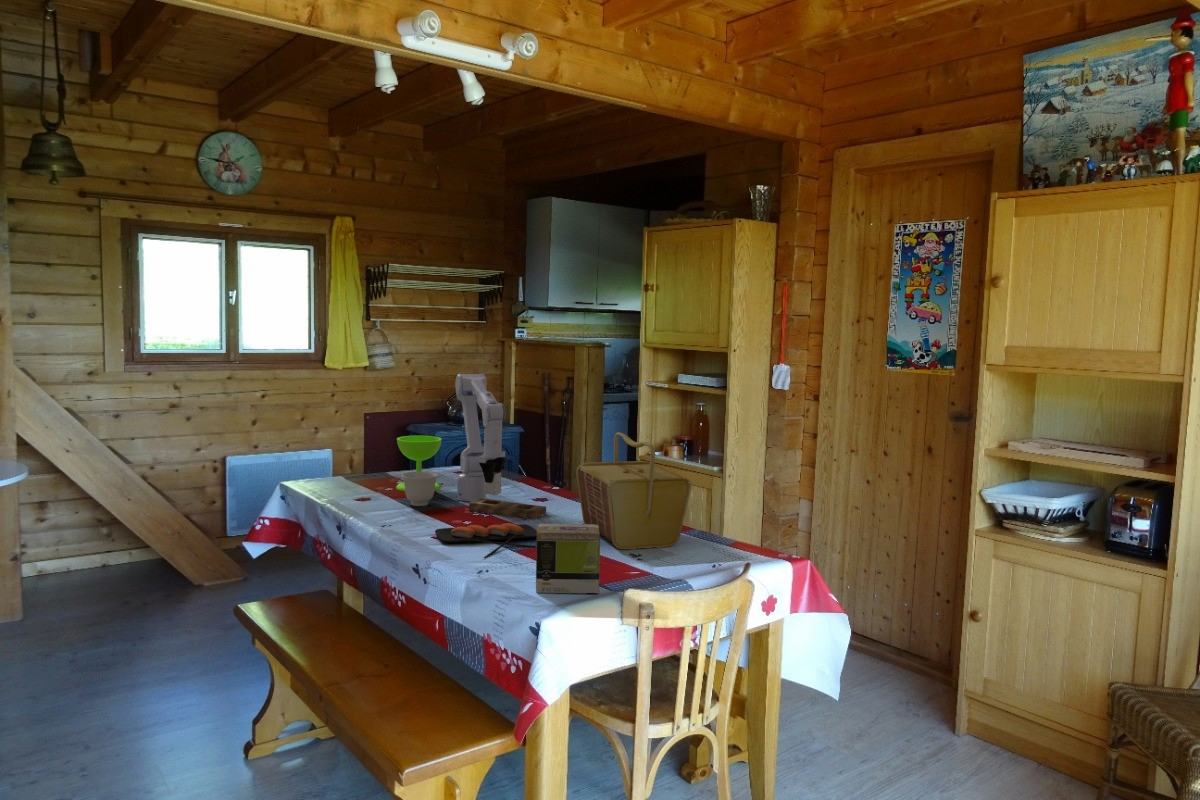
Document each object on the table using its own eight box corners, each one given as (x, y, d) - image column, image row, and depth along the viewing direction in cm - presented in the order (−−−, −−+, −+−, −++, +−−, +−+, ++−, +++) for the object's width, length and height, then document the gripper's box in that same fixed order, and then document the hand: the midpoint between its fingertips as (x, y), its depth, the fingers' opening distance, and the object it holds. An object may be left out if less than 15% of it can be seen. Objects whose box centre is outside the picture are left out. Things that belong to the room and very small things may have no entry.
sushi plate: (528, 529, 263) (528, 517, 263) (559, 556, 236) (559, 542, 235) (432, 535, 253) (432, 522, 253) (453, 563, 225) (453, 549, 225)
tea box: (597, 582, 213) (599, 523, 211) (598, 595, 203) (601, 533, 201) (536, 580, 212) (538, 521, 211) (534, 593, 202) (536, 531, 201)
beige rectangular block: (484, 494, 283) (484, 472, 282) (490, 491, 287) (490, 471, 286) (495, 495, 282) (495, 474, 281) (500, 493, 285) (501, 472, 285)
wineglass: (392, 484, 321) (392, 436, 319) (434, 482, 327) (435, 435, 326) (401, 493, 306) (402, 442, 304) (445, 490, 313) (446, 441, 311)
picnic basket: (572, 528, 265) (575, 431, 262) (649, 524, 275) (653, 430, 272) (606, 553, 238) (610, 446, 235) (690, 548, 247) (696, 444, 244)
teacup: (444, 499, 298) (445, 471, 297) (431, 509, 283) (432, 479, 282) (410, 497, 299) (410, 469, 298) (395, 507, 284) (396, 477, 283)
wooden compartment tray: (469, 510, 283) (469, 502, 283) (480, 505, 291) (481, 497, 290) (535, 519, 275) (535, 510, 275) (546, 514, 282) (546, 505, 282)
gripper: (493, 444, 275) (492, 486, 276) (513, 438, 288) (512, 479, 289) (473, 442, 277) (472, 484, 278) (495, 437, 290) (494, 476, 292)
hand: (491, 481), depth 284 cm, fingers closed on beige rectangular block, 4 cm apart
